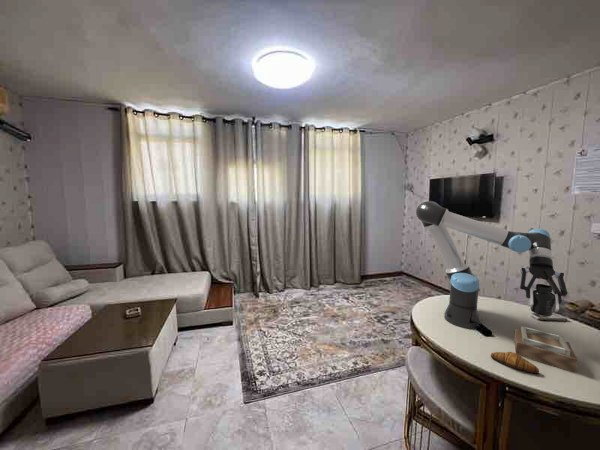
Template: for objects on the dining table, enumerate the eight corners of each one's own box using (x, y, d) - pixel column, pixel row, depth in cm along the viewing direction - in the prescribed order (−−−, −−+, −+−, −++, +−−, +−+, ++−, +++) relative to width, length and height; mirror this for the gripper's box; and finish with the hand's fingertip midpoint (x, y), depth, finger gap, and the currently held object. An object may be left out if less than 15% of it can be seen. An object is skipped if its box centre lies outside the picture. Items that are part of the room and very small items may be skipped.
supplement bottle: (548, 310, 104) (552, 284, 102) (555, 318, 98) (559, 290, 96) (527, 307, 107) (530, 281, 105) (533, 314, 101) (536, 287, 100)
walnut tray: (515, 354, 96) (517, 337, 95) (514, 338, 106) (515, 323, 106) (575, 372, 86) (578, 354, 85) (567, 353, 96) (569, 337, 96)
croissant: (538, 369, 87) (539, 356, 87) (539, 379, 82) (541, 366, 82) (490, 353, 96) (492, 341, 96) (489, 362, 91) (490, 349, 91)
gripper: (569, 267, 106) (576, 317, 96) (510, 260, 118) (510, 304, 108) (575, 258, 101) (582, 311, 91) (513, 252, 113) (513, 298, 103)
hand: (543, 307), depth 99 cm, fingers closed on supplement bottle, 7 cm apart
